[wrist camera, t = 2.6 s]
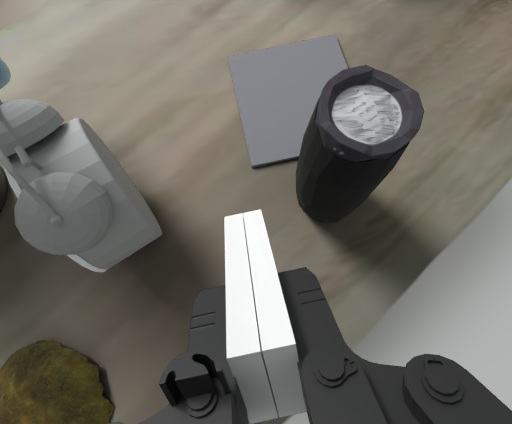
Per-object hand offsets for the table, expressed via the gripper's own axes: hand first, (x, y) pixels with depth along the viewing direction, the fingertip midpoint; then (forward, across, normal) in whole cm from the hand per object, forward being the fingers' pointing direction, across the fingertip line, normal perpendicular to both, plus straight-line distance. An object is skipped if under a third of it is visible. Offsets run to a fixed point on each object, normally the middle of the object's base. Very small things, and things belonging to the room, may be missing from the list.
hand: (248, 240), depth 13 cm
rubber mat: (+37, +10, 0) cm, 38 cm away
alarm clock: (+27, -17, -10) cm, 33 cm away
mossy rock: (+12, -28, -26) cm, 40 cm away
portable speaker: (+25, +10, -12) cm, 30 cm away
